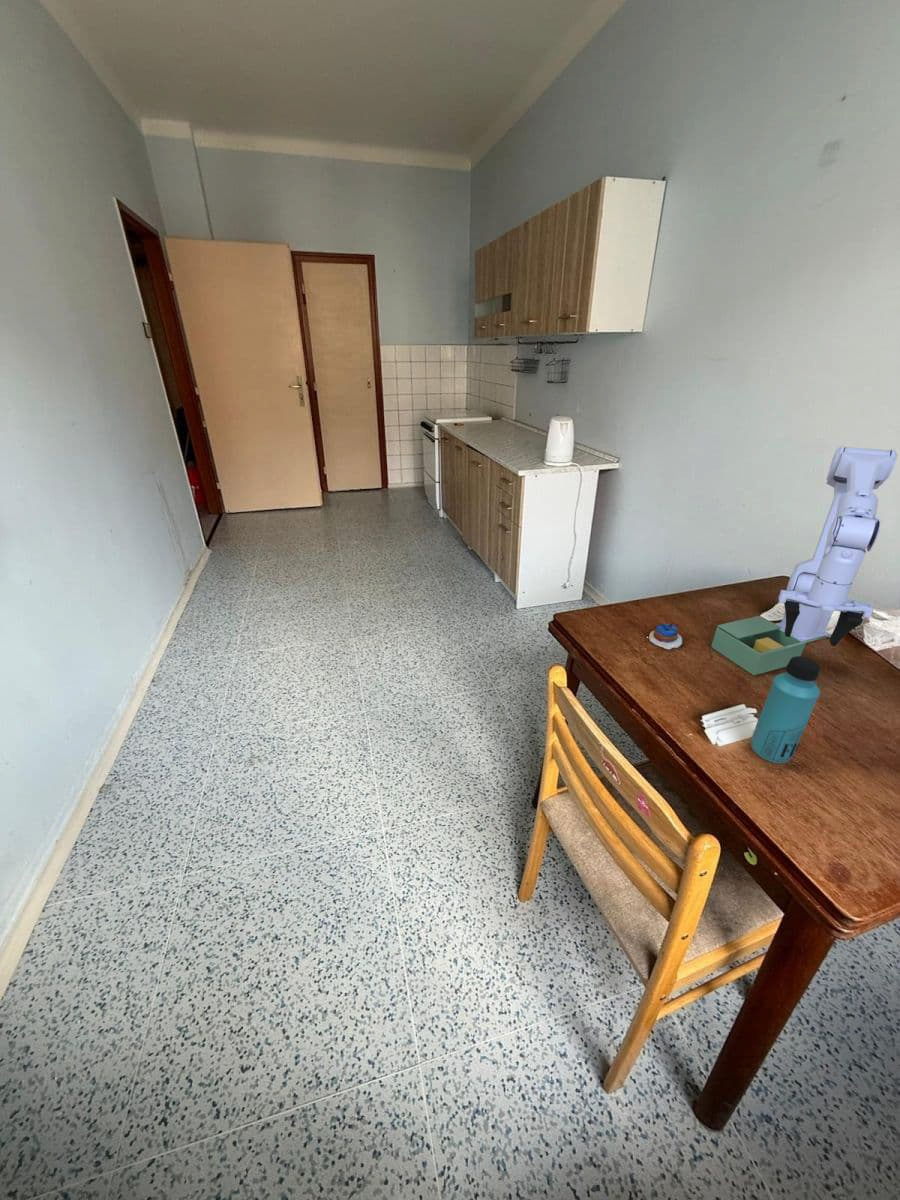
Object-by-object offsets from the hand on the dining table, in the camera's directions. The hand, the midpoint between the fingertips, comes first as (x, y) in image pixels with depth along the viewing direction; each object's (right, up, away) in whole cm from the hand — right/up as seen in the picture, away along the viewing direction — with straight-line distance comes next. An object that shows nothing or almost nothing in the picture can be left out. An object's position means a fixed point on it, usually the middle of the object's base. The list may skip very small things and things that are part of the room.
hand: (809, 638), depth 96 cm
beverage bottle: (-18, -20, -13) cm, 29 cm away
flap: (-1, -1, +3) cm, 3 cm away
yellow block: (-2, -6, +11) cm, 12 cm away
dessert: (-21, -2, +19) cm, 28 cm away
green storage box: (-3, -5, +13) cm, 14 cm away
